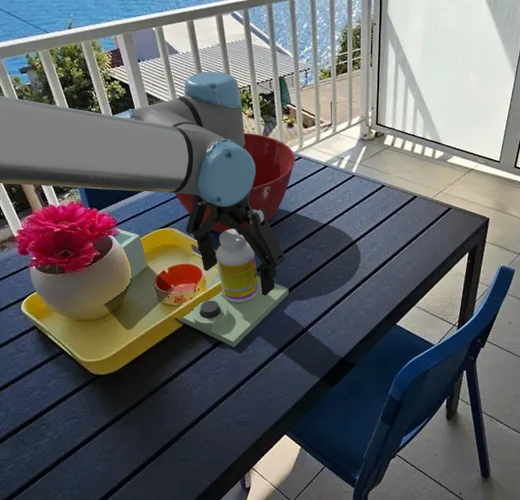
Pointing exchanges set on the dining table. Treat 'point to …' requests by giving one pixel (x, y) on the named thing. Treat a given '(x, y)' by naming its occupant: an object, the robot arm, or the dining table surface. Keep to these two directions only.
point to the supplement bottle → (236, 267)
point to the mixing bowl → (260, 177)
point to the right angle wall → (133, 251)
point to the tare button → (209, 309)
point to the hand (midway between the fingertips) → (238, 278)
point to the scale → (235, 314)
